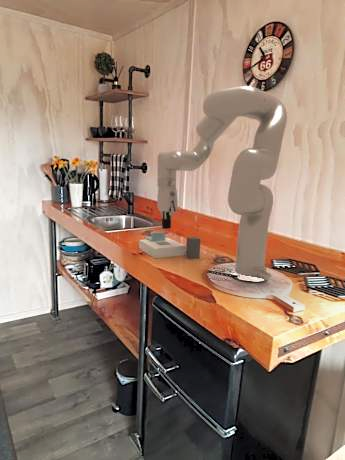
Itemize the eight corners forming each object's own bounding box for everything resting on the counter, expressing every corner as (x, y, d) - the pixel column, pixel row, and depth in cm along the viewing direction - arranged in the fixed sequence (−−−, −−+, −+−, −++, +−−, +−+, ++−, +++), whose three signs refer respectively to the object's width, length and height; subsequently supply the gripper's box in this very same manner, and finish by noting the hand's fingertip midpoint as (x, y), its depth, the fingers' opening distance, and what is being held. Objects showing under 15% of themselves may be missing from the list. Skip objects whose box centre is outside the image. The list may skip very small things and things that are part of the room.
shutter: (165, 240, 141) (165, 232, 141) (151, 241, 138) (151, 233, 137) (158, 236, 147) (158, 229, 147) (144, 237, 144) (144, 230, 143)
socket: (185, 255, 134) (185, 245, 133) (155, 258, 127) (155, 248, 127) (167, 246, 148) (167, 237, 147) (139, 248, 141) (139, 240, 140)
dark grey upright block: (199, 258, 130) (200, 239, 129) (190, 259, 128) (191, 239, 127) (194, 255, 134) (195, 237, 132) (185, 256, 132) (186, 237, 130)
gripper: (184, 183, 125) (183, 230, 128) (166, 183, 138) (166, 225, 141) (166, 184, 122) (166, 231, 125) (150, 183, 135) (150, 226, 138)
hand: (166, 228), depth 133 cm, fingers closed
